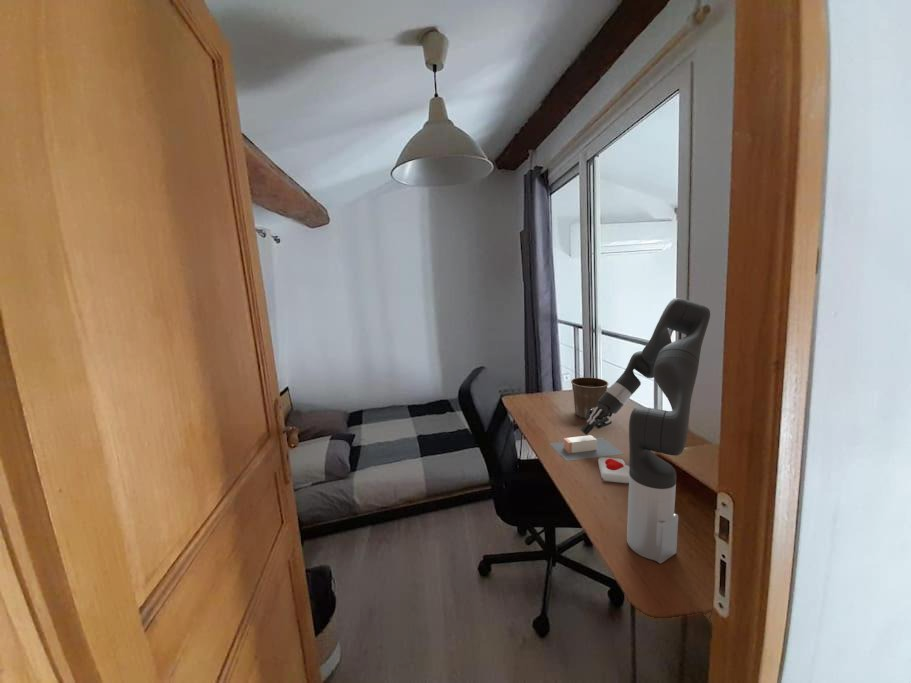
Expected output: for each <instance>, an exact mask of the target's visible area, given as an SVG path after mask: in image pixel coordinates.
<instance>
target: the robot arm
mask: <svg viewBox="0 0 911 683" xmlns="http://www.w3.org/2000/svg"><path fill="white" fill-rule="evenodd" d="M710 319H711V311H710V309H709V308H708V307H707V306H706V305H703V304H700V303H697V302H694V301H691V300H689V299H684V298H680V297H675V298H672V299H671V300H670V301H669V302H668V304H667V305H666V306H665V308H664V310H663V311H662V314H661V316H660V317H659V319H658V322H657V324H656V326H655V327H654V330H653V333H652V335H651V338H649V340H648V342H647V343H646V345H645V346H644V347H643V349H642V351H641V350H639V351H636V352H634V353H633V354H632V355H631V356H630V359H629V361H628V363H627V365H626V367H625V370H624V371H623V373H622V374H621V375H620V376H619V377H618V378H617V380H616V381H615V382H614V383H613V384H611V386H609V387H608V388H607V391H606V392H605V393H604V394H603V395H602V396H601V397H600V399H599V404H598V405H596V406H595V408H591V407H589V408H588V410H587V414H586V418H585V420H586V423H585V424H584V426H582V427H581V430H580V431H581V432H582V433H583V434H584V436H588V434H589V433H591V431H592V430H593V429H597V430H598V429H601V428H604V427H606V426H609V425H611V424H612V420H611V418H612V416H613V414H615V415H616V414H617V413H619V411H620V410H621V408H623V407H624V405H625V404H627V402H628V401H629V399H630V398H631V397H632V396H633V395H634V393H635V392H636V391H637V390H638V389H639V388H640V386H641V384H642V382H641V381H640V379H639V378H638V377H637V376H636V374H635V372H634V370H635V371H637V373H639V374H640V375H642V376H643V377H645V378H647V379H654V380H655V382H656V384H657V385H658V387H659V389H660V390H661V391H662V394H664V396H665V397H666V398H667V400H668V402H669V404H670V407H671V410H664V409H658V408H653V407H652V408H651V407H646V406H636V407H634V408H633V409H632V411H631V412H630V415H629V421H628V422H629V423H628V443H629V444H628V446H629V447H628V448H629V450H628V451H629V456H628V457H629V459H628V462H629V463H628V464H629V465H628V466H629V483H628V494H627V495H628V496H627V497H628V498H627V499H628V500H627V520H626V521H627V523H626V524H627V528H626V529H627V530H626V542H627V545H628V546H629V547H630V549H631V550H632V551H633V552H634V553H636V554H637V555H639V556H640V557H642V558H645V559H647V560H651V561H655V562H657V563H659V564H663V563H664V562H666V561H667V560H668V559H670V558H671V557H673V556H674V555H675V554H677V547H678V546H677V545H678V529H679V515H678V514H677V513H675V506H676V504H675V502H676V487H677V471H676V469H675V468H674V467H673V465H672V464H670V463H669V462H667V461H666V460H664V459H662V458H661V457H659V456H657V455H656V454H655V453H658V454H663V455H667V456H680V455H682V453H683V452H684V450H685V447H686V444H687V439H688V433H689V432H688V431H689V422H690V414H691V412H690V411H691V402H692V398H693V392H694V387H695V383H696V380H697V377H698V371H699V366H700V359H701V358H700V357H701V351H702V346H703V341H704V338H705V335H706V332H707V328H708V326H709V322H710ZM669 330H672V331H675V332H677V333H681V334H683V335H686V336H685V337H682V338H680V339H678V340H674V341H672V339H671V336H670V333H669ZM589 417H590V418H589ZM654 452H655V453H654Z"/></svg>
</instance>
